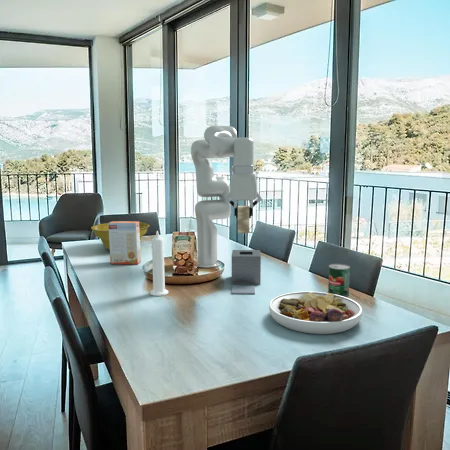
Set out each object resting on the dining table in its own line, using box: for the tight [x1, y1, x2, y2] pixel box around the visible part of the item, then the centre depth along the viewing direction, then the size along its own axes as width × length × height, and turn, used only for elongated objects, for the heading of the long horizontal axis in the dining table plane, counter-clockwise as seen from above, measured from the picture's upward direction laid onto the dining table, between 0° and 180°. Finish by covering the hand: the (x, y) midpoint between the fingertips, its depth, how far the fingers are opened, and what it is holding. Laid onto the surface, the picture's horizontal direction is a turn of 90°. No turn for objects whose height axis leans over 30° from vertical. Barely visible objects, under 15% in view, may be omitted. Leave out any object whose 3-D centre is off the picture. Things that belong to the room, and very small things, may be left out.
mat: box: [231, 285, 256, 295], centre depth 181 cm, size 9×9×1 cm
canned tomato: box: [327, 263, 351, 297], centre depth 176 cm, size 8×8×11 cm
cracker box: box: [107, 220, 142, 265], centre depth 224 cm, size 14×6×21 cm, turn 84°
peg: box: [237, 205, 250, 234], centre depth 177 cm, size 4×4×10 cm
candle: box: [149, 230, 169, 297], centre depth 176 cm, size 7×7×25 cm
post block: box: [231, 249, 262, 286], centre depth 194 cm, size 12×12×12 cm
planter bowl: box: [90, 221, 150, 251], centre depth 257 cm, size 32×32×13 cm
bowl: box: [268, 291, 363, 335], centre depth 150 cm, size 30×30×8 cm
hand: (243, 217), depth 177 cm, fingers closed on peg, 4 cm apart
